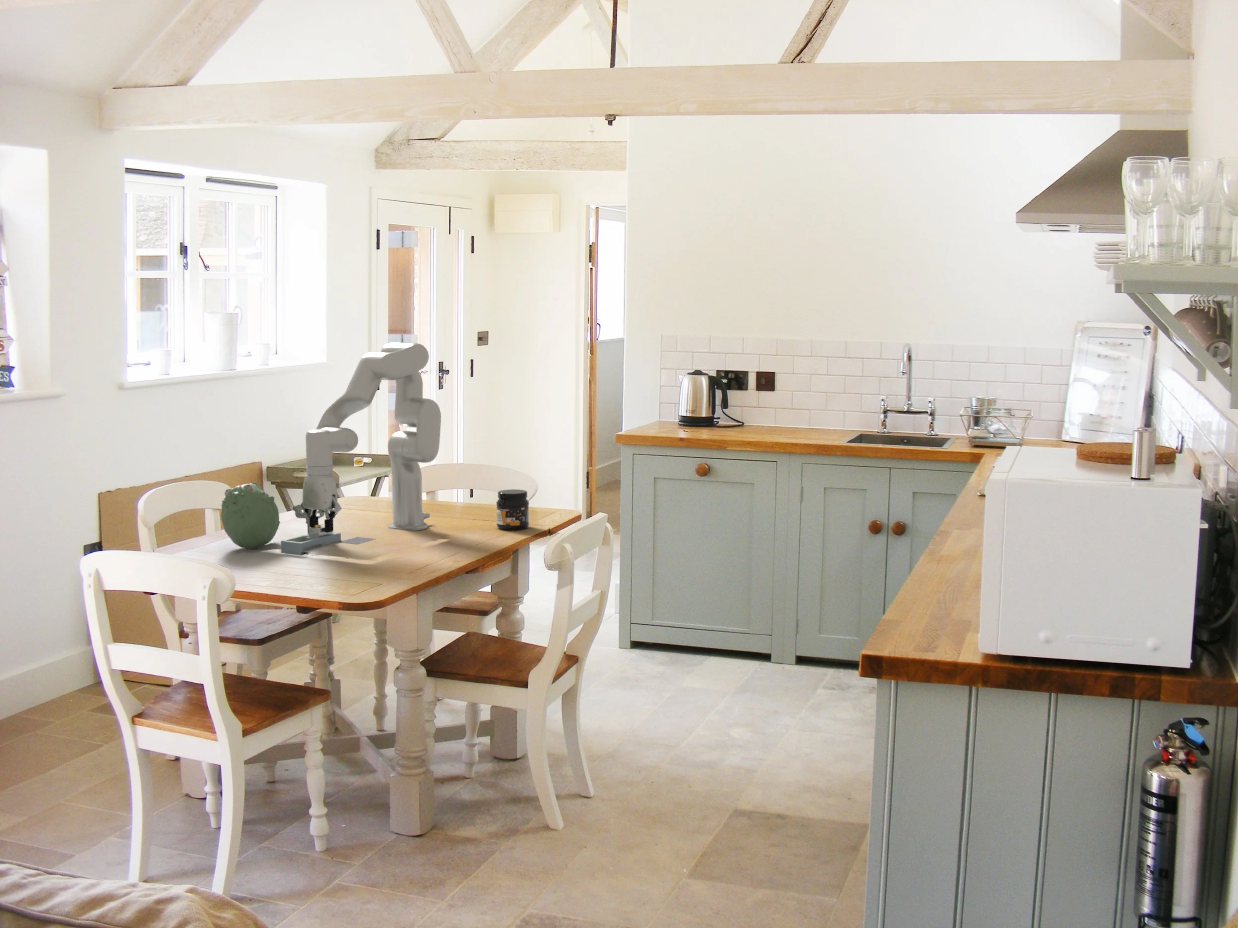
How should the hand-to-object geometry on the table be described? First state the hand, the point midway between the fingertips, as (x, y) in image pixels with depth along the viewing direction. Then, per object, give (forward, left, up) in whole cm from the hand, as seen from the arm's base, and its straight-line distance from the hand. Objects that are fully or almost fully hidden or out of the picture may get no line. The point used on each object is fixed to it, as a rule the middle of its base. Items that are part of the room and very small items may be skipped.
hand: (321, 530), depth 359 cm
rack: (+4, 0, -5) cm, 6 cm away
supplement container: (-51, +36, -5) cm, 62 cm away
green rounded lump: (+12, -16, -5) cm, 21 cm away
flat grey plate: (-7, +8, -5) cm, 11 cm away
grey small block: (0, 0, -2) cm, 2 cm away
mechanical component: (-9, -12, -5) cm, 16 cm away
